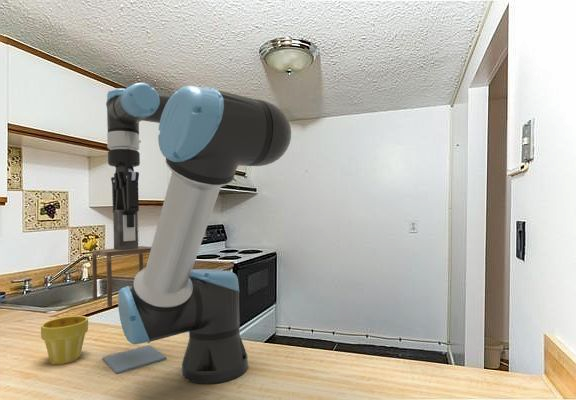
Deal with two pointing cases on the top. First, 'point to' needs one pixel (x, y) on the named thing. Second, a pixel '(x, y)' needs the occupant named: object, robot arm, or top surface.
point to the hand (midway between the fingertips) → (125, 240)
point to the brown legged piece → (117, 252)
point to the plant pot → (64, 338)
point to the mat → (133, 359)
